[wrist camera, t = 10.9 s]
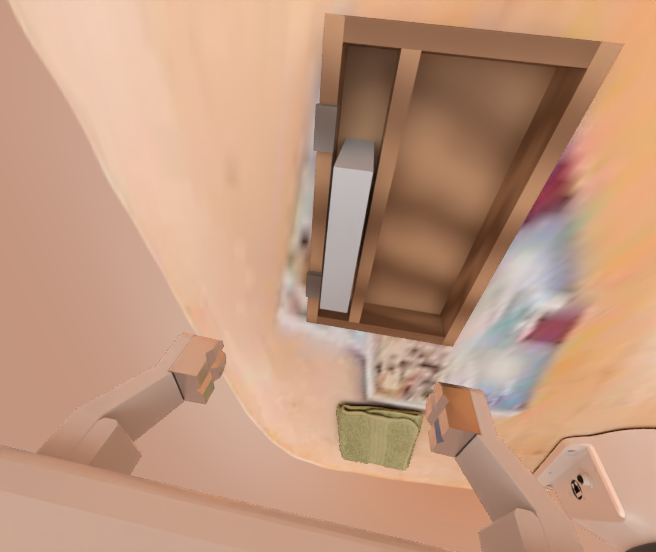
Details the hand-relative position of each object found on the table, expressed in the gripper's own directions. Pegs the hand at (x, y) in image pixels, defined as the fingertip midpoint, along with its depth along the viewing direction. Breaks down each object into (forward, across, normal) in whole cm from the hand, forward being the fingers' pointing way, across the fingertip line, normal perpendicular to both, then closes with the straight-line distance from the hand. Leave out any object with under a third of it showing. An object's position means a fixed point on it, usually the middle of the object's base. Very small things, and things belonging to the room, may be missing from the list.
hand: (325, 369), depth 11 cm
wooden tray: (+16, -4, 0) cm, 17 cm away
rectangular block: (+15, 0, 0) cm, 15 cm away
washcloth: (+18, -9, +39) cm, 44 cm away
